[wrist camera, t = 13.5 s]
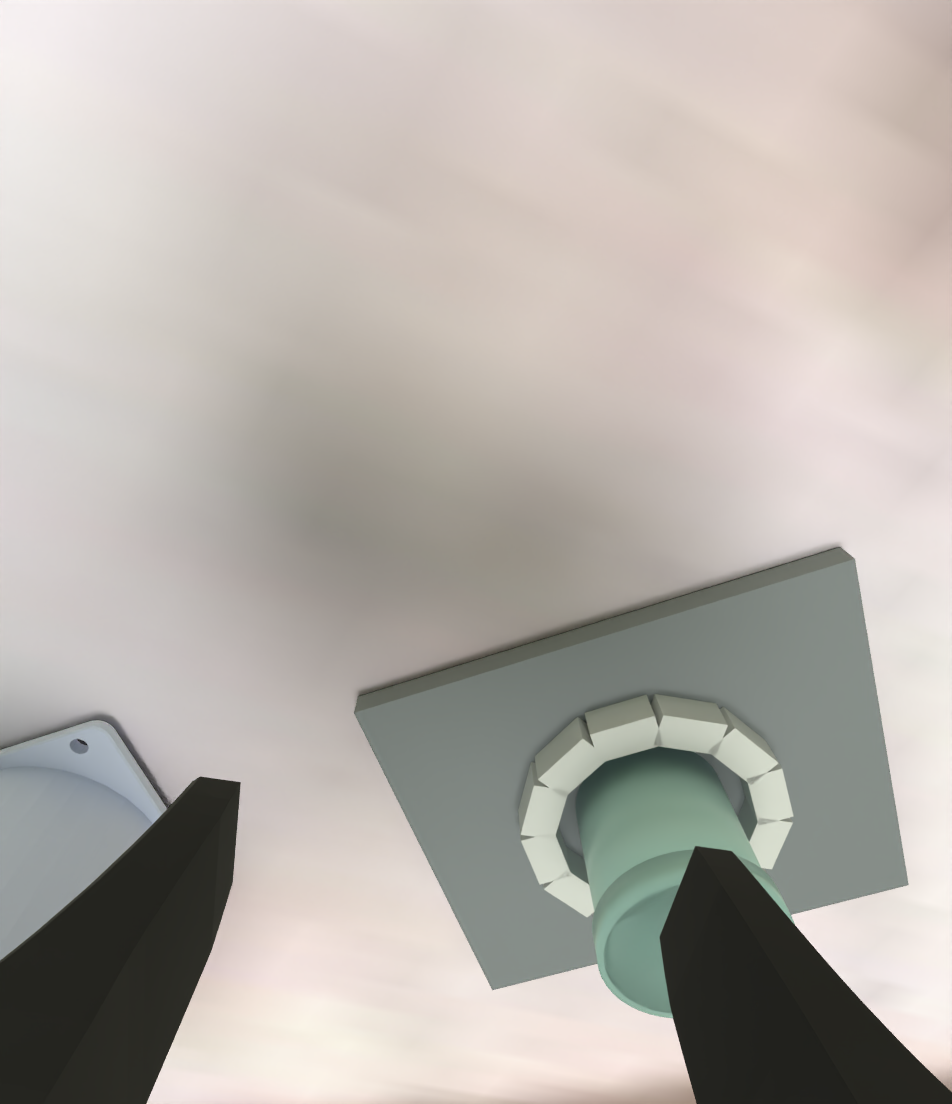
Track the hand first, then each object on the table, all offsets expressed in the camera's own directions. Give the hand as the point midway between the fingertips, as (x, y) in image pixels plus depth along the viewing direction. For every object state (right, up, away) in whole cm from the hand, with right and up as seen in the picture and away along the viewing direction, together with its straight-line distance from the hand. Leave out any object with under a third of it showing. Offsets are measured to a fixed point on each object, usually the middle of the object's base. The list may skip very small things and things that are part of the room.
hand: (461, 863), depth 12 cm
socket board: (+5, -2, +11) cm, 13 cm away
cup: (+5, -3, +11) cm, 12 cm away
